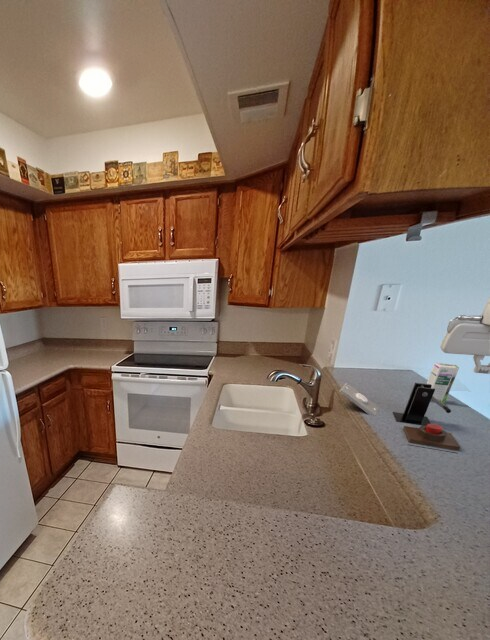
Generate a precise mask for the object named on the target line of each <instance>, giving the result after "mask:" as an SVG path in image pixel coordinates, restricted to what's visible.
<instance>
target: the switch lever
mask: <svg viewBox="0 0 490 640" xmlns="http://www.w3.org/2000/svg"><path fill="white" fill-rule="evenodd" d="M420 387H424V386H423V385H421V386H420ZM425 388H426V387H425ZM416 390H417V389H416ZM416 390H415V391H416ZM431 400H432V401H433V402H435V403H434V404H436V405H437V406H439V407H440V408H441V409H443V410H444V412H445V413H447V414H450V413H451V412H452V410H451V408H450V407H449V406H448V405H447V404H446V403H444V404H443V403H442V402H440V401H439V400H437V399H436V398H435V397H433V396H432V399H431Z"/></svg>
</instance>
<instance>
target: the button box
mask: <svg viewBox="0 0 490 640" xmlns="http://www.w3.org/2000/svg"><path fill="white" fill-rule="evenodd" d="M426 427H427V425H426V426H422V425H420V426H419V427H415V426H407V425H403V428H402V431H403V433H404V435H405V438H406V440H407V442H408V443H410V444H406V446H410V447H411V446H412V447H418V448H421V449H422V448H423V449H429V450H435V451H441V452H447V453H450V454H451V453H452V454H457V452H458V451H460V449H461V446H460V444H459V443H458V441H457V439H456V438H455V437H454V435H453V434H452V432H447V431H446V430H445V429H442V431H441V433H440V434H434V433H430V432H428V431H426V430H425V429H426ZM414 444H416V445H414ZM418 445H422V446H418ZM425 446H427V447H425ZM431 447H434V448H431ZM437 448H438V449H437ZM439 448H441V449H439ZM443 449H446V450H443ZM449 450H450V451H449ZM455 451H457V452H455Z"/></svg>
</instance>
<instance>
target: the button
mask: <svg viewBox="0 0 490 640" xmlns="http://www.w3.org/2000/svg"><path fill="white" fill-rule="evenodd" d="M425 430H426V431H428V432H430V433H434V434H440V433H441V431H442V430H443V427H442V426H441V425H440V424H436V423H431V424H428V425H427V427H426V429H425Z"/></svg>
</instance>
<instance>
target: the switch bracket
mask: <svg viewBox="0 0 490 640" xmlns="http://www.w3.org/2000/svg"><path fill="white" fill-rule="evenodd" d="M421 385H423V386H424V387H420V386H421ZM425 387H426V388H425ZM431 387H432V385H431V384H427V383H423V382H422V383H421V382H414V385H413V387H412V389H411V393H410V395H409V397H408V400H407V403H406V405H405V408H404V411H403V412H396V411H392V415H393V417H394V420H395V422H396V423H403V424H410V425H415V426H416V425H417V426H426V425H428V424H432V423H431V421H430V420H429V418H428V416H426V413H427V412H428V411H427V410H428V408H429V405H430V403H431V402H430V401H431V399H432V396H433V394H434V391H435V389H434V388H431ZM416 389H417V390H416ZM415 390H416V391H415Z"/></svg>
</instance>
